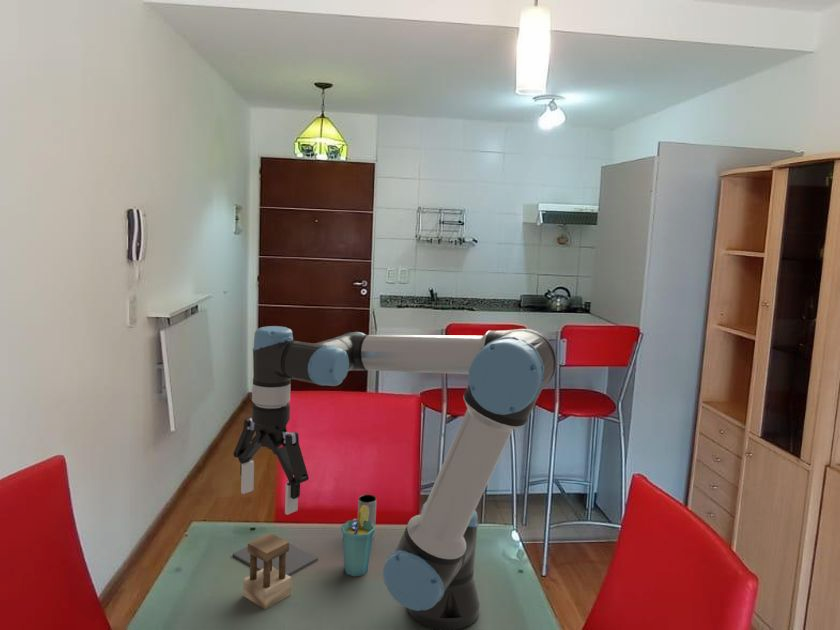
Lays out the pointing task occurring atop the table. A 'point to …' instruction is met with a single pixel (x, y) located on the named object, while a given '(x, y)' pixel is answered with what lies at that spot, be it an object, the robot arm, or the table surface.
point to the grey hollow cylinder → (371, 503)
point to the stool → (267, 556)
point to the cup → (357, 543)
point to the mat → (294, 559)
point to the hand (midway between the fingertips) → (268, 501)
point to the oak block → (267, 589)
